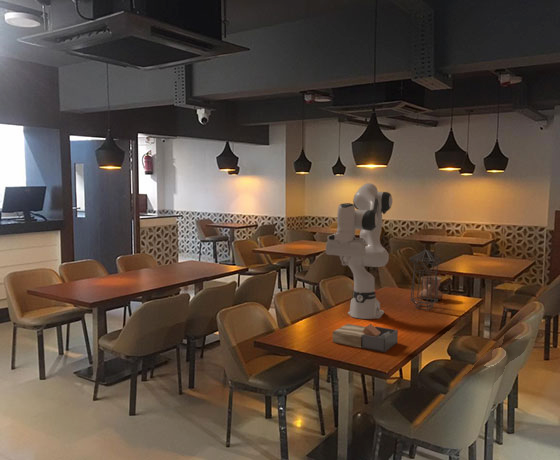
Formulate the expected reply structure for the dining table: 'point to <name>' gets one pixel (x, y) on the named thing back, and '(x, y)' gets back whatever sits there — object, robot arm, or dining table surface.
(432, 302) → the geometric lantern
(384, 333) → the blue-grey tile
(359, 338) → the board
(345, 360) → the dining table surface
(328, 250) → the robot arm
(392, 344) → the tray
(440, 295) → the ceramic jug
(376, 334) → the terracotta tile
